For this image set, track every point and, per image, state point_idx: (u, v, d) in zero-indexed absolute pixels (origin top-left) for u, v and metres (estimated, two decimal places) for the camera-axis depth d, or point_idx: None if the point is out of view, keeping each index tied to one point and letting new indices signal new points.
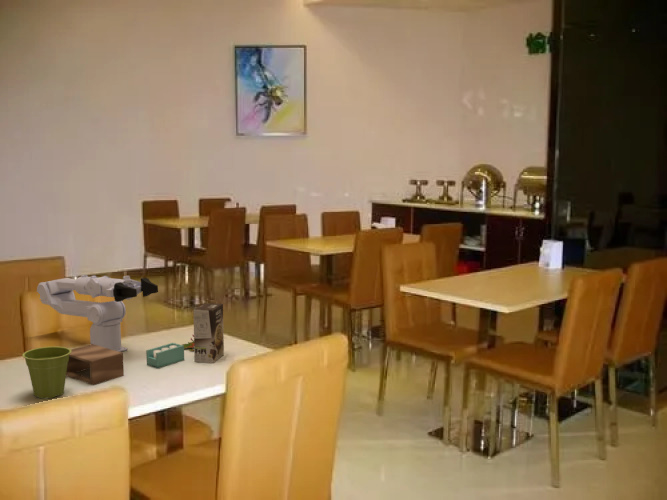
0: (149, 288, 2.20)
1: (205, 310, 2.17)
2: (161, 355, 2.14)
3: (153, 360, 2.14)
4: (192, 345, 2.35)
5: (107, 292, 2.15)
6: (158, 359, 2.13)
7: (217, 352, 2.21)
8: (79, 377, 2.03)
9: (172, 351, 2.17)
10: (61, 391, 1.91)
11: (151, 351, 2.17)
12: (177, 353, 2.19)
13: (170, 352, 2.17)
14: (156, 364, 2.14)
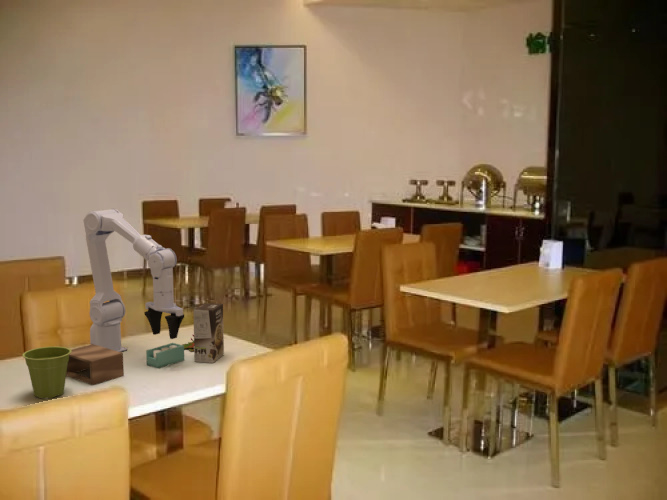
0: (156, 323, 2.19)
1: (205, 310, 2.17)
2: (161, 355, 2.14)
3: (153, 360, 2.14)
4: (192, 345, 2.35)
5: (181, 311, 2.12)
6: (158, 359, 2.13)
7: (217, 352, 2.21)
8: (79, 377, 2.03)
9: (172, 351, 2.17)
10: (61, 391, 1.91)
11: (151, 351, 2.17)
12: (177, 353, 2.19)
13: (170, 352, 2.17)
14: (156, 364, 2.14)
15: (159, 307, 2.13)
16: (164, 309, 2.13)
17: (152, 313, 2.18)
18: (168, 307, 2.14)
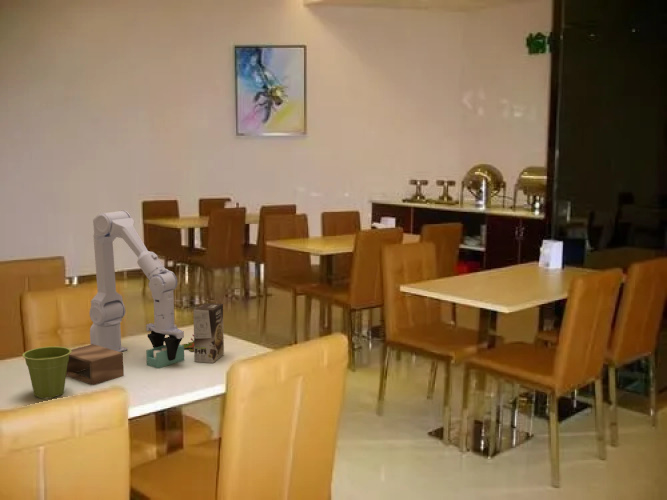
0: (159, 345, 2.20)
1: (205, 310, 2.17)
2: (161, 355, 2.14)
3: (153, 360, 2.14)
4: (192, 345, 2.35)
5: (181, 333, 2.13)
6: (158, 359, 2.13)
7: (217, 352, 2.21)
8: (79, 377, 2.03)
9: None
10: (61, 391, 1.91)
11: (151, 351, 2.17)
12: (177, 353, 2.19)
13: None
14: (156, 364, 2.14)
15: (160, 329, 2.14)
16: (165, 332, 2.14)
17: (155, 335, 2.18)
18: (169, 329, 2.15)
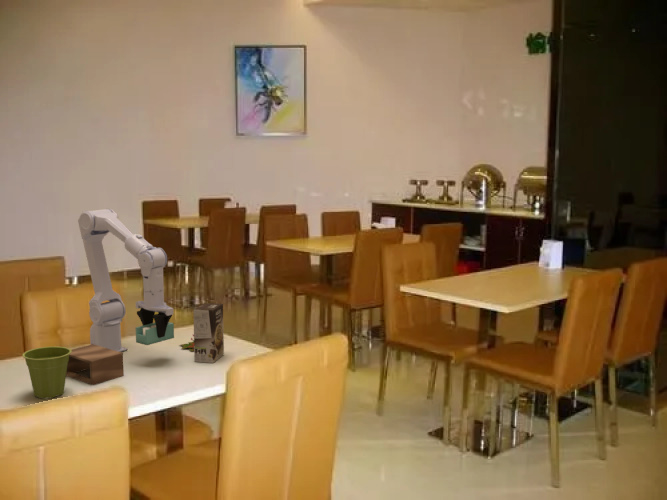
0: (148, 323, 2.19)
1: (205, 310, 2.17)
2: (150, 332, 2.13)
3: (142, 337, 2.13)
4: (192, 345, 2.35)
5: (171, 310, 2.12)
6: (147, 336, 2.12)
7: (217, 352, 2.21)
8: (79, 377, 2.03)
9: None
10: (61, 391, 1.91)
11: (140, 328, 2.16)
12: (167, 330, 2.18)
13: None
14: (145, 341, 2.13)
15: (149, 306, 2.13)
16: (154, 308, 2.13)
17: (144, 313, 2.17)
18: (158, 306, 2.14)
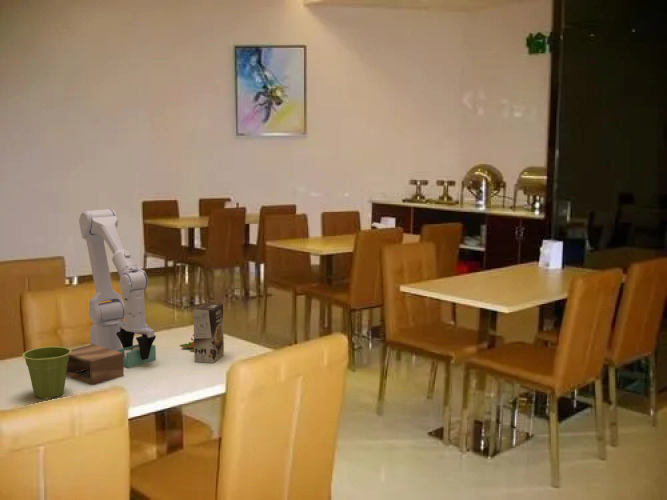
0: (128, 343, 2.21)
1: (205, 310, 2.17)
2: (131, 355, 2.14)
3: (124, 360, 2.15)
4: (192, 345, 2.36)
5: (152, 332, 2.13)
6: (129, 359, 2.14)
7: (217, 352, 2.21)
8: (79, 377, 2.03)
9: None
10: (61, 391, 1.91)
11: (122, 351, 2.17)
12: None
13: None
14: (127, 364, 2.14)
15: (130, 328, 2.15)
16: (135, 330, 2.14)
17: (124, 334, 2.19)
18: (139, 328, 2.15)
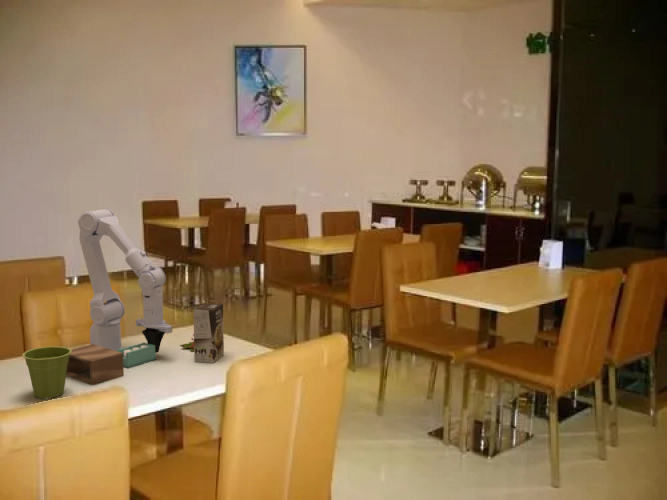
0: None
1: (205, 310, 2.17)
2: (131, 355, 2.14)
3: (123, 360, 2.14)
4: (192, 345, 2.36)
5: (170, 328, 2.19)
6: (128, 359, 2.13)
7: (217, 352, 2.21)
8: (79, 377, 2.03)
9: (143, 351, 2.17)
10: (61, 391, 1.91)
11: (122, 351, 2.17)
12: (148, 353, 2.19)
13: (141, 352, 2.17)
14: (126, 364, 2.14)
15: (149, 324, 2.20)
16: (154, 326, 2.19)
17: None
18: (158, 324, 2.20)
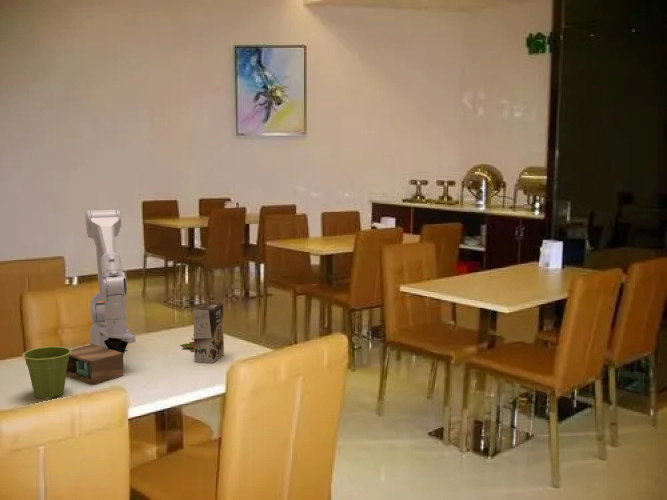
0: None
1: (205, 310, 2.17)
2: None
3: (83, 372, 2.04)
4: (193, 345, 2.36)
5: (132, 338, 2.08)
6: (88, 371, 2.03)
7: (217, 352, 2.21)
8: (79, 377, 2.03)
9: None
10: (61, 391, 1.91)
11: (82, 362, 2.06)
12: None
13: None
14: (86, 376, 2.03)
15: (111, 334, 2.09)
16: (116, 336, 2.09)
17: None
18: (120, 334, 2.10)
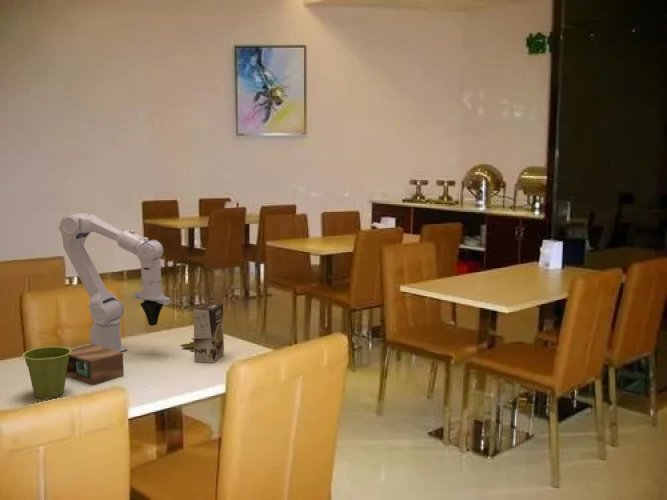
0: None
1: (205, 310, 2.17)
2: None
3: (83, 372, 2.04)
4: (193, 345, 2.36)
5: (168, 300, 2.20)
6: (88, 371, 2.03)
7: (217, 352, 2.21)
8: (79, 377, 2.03)
9: None
10: (61, 391, 1.91)
11: (82, 362, 2.06)
12: None
13: None
14: (86, 376, 2.03)
15: (147, 296, 2.21)
16: (152, 298, 2.20)
17: None
18: (156, 297, 2.21)
